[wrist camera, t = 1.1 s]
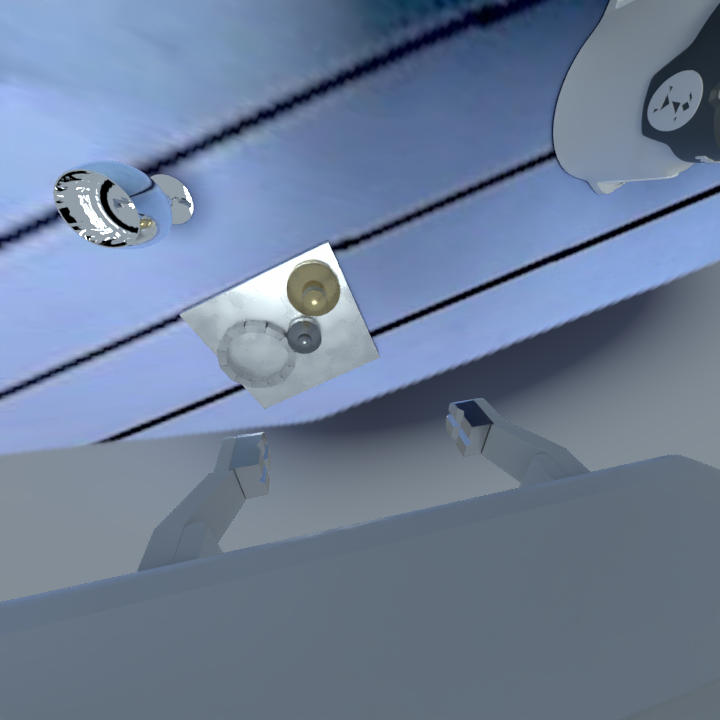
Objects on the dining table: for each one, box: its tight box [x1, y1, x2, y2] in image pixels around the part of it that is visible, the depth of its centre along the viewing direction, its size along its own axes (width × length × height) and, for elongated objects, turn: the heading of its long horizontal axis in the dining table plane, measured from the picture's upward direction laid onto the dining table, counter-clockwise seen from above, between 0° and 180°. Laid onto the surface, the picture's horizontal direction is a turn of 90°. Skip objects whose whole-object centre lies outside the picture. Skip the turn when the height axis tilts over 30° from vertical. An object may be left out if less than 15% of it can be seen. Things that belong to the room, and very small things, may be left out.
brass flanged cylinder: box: [286, 261, 340, 317], centre depth 32 cm, size 6×6×6 cm
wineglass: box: [53, 161, 194, 249], centre depth 23 cm, size 6×6×12 cm
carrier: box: [180, 240, 380, 409], centre depth 37 cm, size 20×18×4 cm
